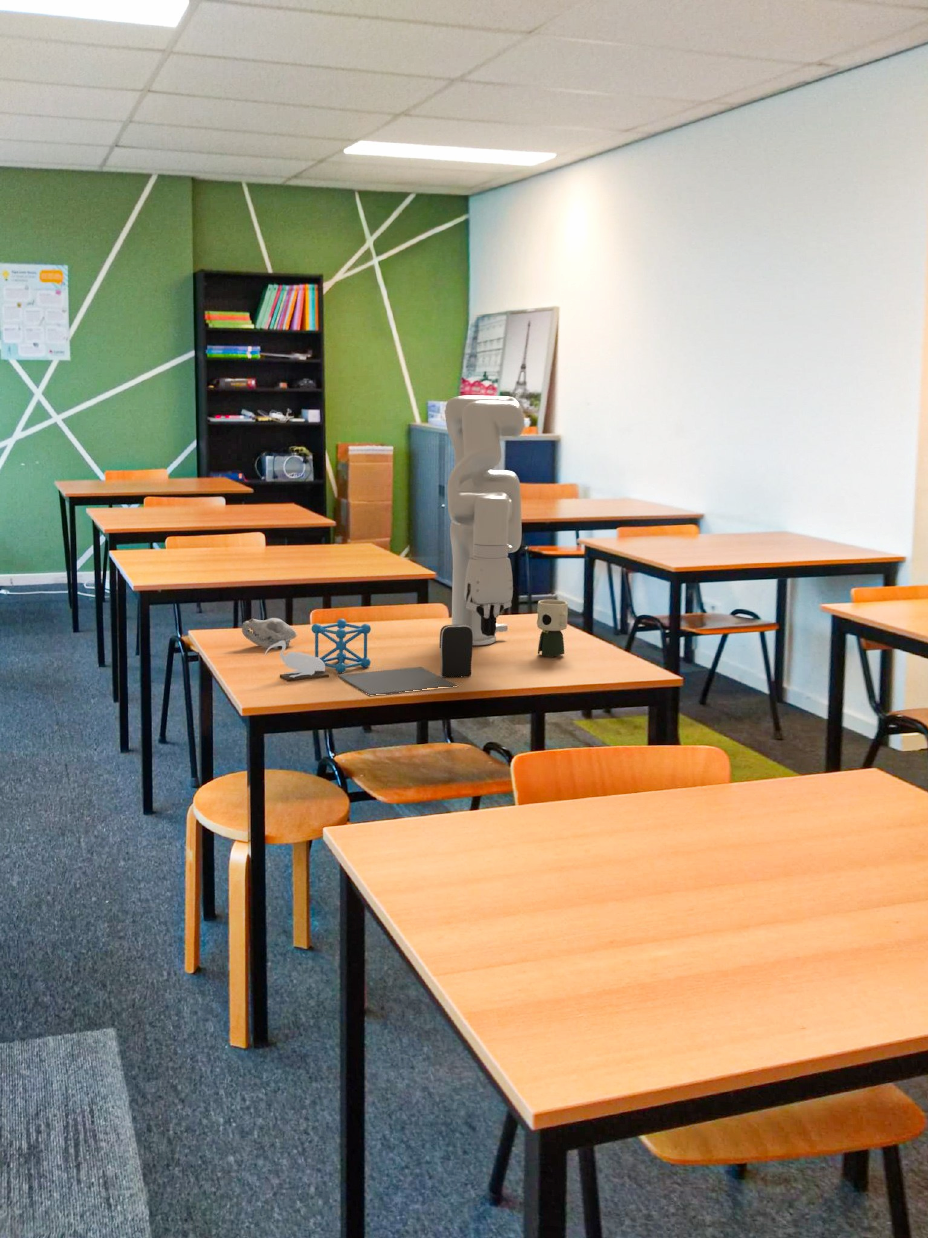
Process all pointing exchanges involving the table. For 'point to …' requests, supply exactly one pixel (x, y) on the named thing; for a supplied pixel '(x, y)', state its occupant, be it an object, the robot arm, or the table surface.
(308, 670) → the figurine
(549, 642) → the character mug
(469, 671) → the battery charger
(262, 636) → the skull
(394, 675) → the mat
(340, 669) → the molecular structure
